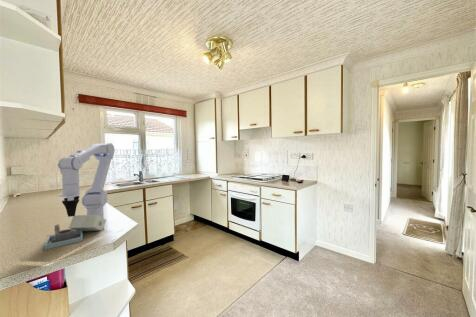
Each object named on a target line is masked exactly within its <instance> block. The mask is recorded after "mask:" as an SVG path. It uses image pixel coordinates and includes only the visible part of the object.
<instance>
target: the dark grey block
mask: <svg viewBox="0 0 476 317" xmlns="http://www.w3.org/2000/svg"><path fill="white" fill-rule="evenodd" d="M74 238H75V235H74V229H70V228H68V229H61V230H60V231H59V232H56V239H53V240H51V243H55V242H60V241H64V240H69V239H74Z"/></svg>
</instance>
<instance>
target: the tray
mask: <svg viewBox="0 0 476 317" xmlns="http://www.w3.org/2000/svg"><path fill="white" fill-rule="evenodd" d="M77 235H80V236H79V237H74V239H69V240H64V241H60V242H55V243H52V242H51V243H50V241H52V240H53V239H56V235H52V236H48V238H47V240H45V242H44V245H43V248H44V250H49V249H53V248H57V247H63V246H66V245H71V244H74V243H80V242H83V241H84V240H83V239H84V238H83V231H82V230H78V231H74V236H77Z"/></svg>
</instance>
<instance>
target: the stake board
mask: <svg viewBox="0 0 476 317" xmlns="http://www.w3.org/2000/svg"><path fill="white" fill-rule="evenodd" d="M60 227H61V226H60V224H59V222H57V223H55V225H54V232H51V233H47V235H46V237H45V239H44V241H46V240H47V238H48V236H52V235H56V232H59V231H61V230H60ZM74 231H75V230H74Z"/></svg>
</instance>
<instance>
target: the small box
mask: <svg viewBox="0 0 476 317" xmlns="http://www.w3.org/2000/svg"><path fill="white" fill-rule="evenodd" d="M106 222H107V219H106V218H102V217H101V216H99V215H87V214H82V215H80V214H79V215H75V216H72V219H71V221H70V224H69V227H68V229H74V230H75V231H78V230H82V232H95V231H96V232H97V231H99V232H100V231H103V230H105V226H106Z"/></svg>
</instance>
